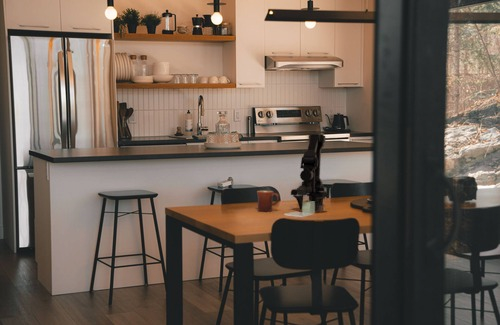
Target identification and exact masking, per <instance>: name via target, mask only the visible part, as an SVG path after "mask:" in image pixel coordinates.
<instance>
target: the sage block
mask: <svg viewBox="0 0 500 325" xmlns="http://www.w3.org/2000/svg"><path fill="white" fill-rule="evenodd" d="M301 212H304V213H312V215H313V214H315V213H316V212H315V201H309V200H303V205H302V209H301Z"/></svg>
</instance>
